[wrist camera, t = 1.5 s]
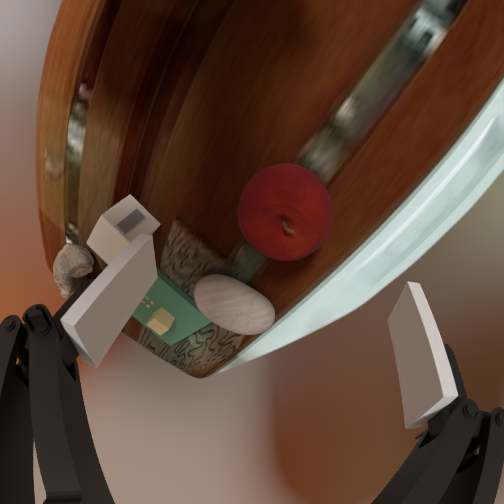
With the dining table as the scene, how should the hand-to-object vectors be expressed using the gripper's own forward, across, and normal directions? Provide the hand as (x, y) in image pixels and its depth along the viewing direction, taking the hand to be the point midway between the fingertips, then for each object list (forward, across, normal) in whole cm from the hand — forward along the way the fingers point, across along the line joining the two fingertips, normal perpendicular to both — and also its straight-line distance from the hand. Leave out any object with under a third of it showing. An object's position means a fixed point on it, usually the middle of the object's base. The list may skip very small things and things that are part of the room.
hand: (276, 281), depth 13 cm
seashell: (+21, -35, -22) cm, 46 cm away
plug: (+20, -22, -10) cm, 32 cm away
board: (+20, -20, -27) cm, 39 cm away
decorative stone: (+21, -6, -20) cm, 30 cm away
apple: (+21, 0, -3) cm, 21 cm away
